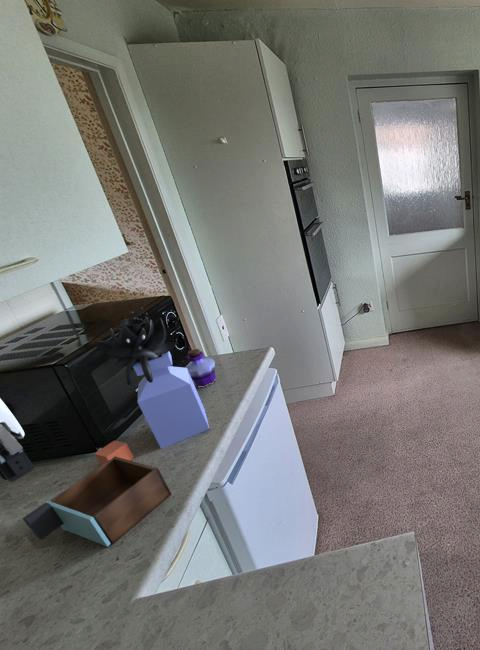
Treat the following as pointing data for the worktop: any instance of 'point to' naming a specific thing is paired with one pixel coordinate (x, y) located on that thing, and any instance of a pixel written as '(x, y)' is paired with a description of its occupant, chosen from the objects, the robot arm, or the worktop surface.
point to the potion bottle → (200, 368)
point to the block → (114, 452)
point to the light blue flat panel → (64, 522)
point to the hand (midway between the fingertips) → (19, 473)
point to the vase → (157, 380)
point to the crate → (116, 495)
